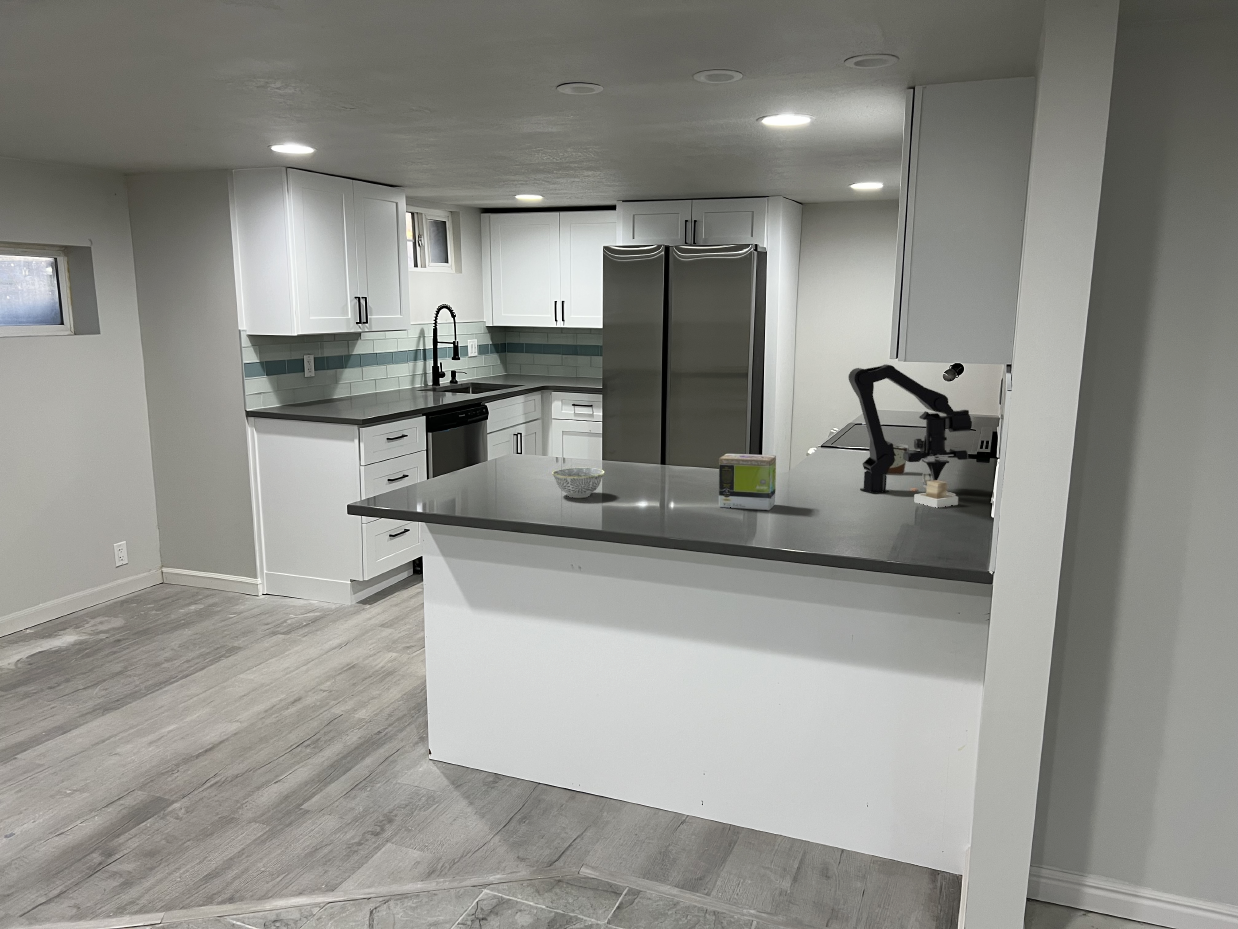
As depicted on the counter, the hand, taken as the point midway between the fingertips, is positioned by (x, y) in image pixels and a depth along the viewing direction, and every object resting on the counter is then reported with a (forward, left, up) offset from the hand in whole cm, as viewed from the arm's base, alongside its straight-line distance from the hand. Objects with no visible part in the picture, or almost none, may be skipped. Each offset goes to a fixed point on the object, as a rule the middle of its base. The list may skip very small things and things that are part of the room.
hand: (934, 482), depth 284 cm
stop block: (-14, -13, -2) cm, 20 cm away
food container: (+11, +31, -3) cm, 32 cm away
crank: (-4, -3, -2) cm, 5 cm away
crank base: (-5, -4, -3) cm, 7 cm away
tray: (-14, -13, -3) cm, 20 cm away
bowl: (-102, +47, -3) cm, 112 cm away
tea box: (-65, +11, -3) cm, 66 cm away
